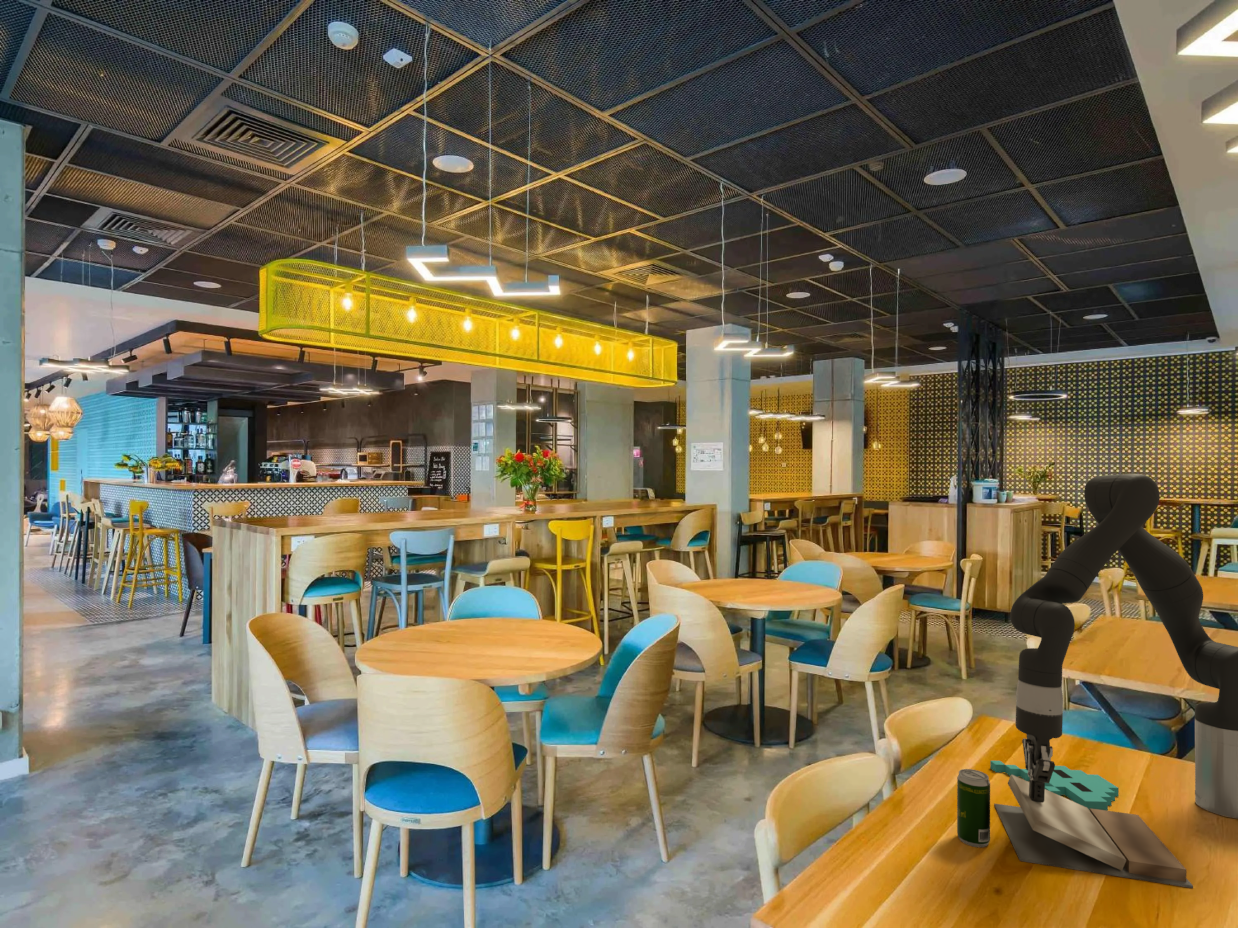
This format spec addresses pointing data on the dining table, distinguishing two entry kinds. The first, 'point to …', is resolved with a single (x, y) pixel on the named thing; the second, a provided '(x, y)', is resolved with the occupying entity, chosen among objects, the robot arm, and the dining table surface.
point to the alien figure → (1071, 785)
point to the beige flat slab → (1067, 823)
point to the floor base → (1126, 832)
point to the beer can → (973, 808)
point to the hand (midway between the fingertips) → (1036, 799)
